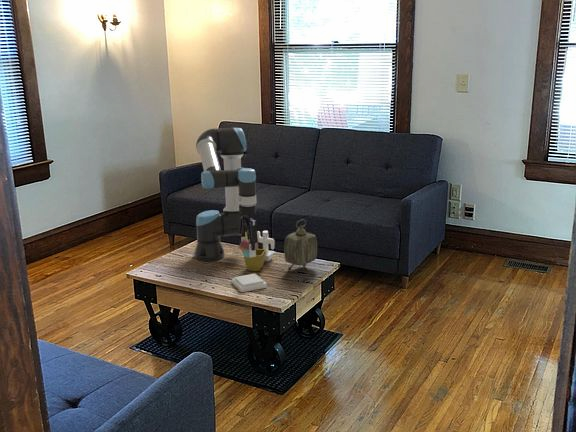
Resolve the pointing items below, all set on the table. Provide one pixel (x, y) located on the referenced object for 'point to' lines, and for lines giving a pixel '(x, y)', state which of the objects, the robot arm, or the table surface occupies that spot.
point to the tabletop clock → (300, 247)
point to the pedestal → (249, 282)
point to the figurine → (266, 244)
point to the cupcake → (246, 246)
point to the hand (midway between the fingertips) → (248, 253)
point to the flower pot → (255, 260)
